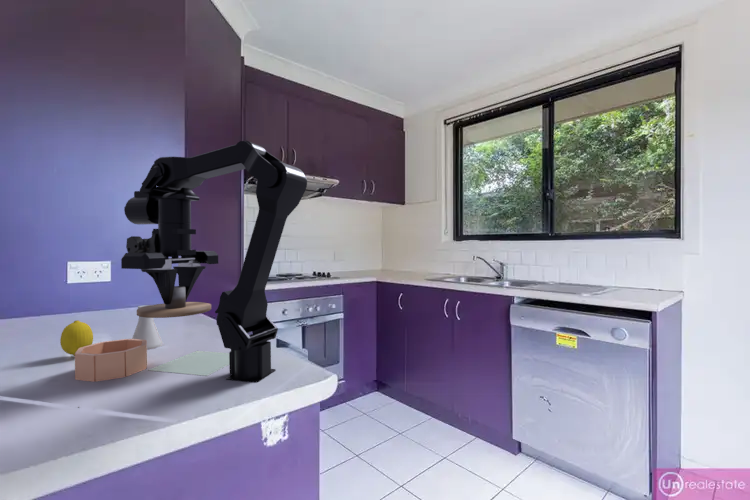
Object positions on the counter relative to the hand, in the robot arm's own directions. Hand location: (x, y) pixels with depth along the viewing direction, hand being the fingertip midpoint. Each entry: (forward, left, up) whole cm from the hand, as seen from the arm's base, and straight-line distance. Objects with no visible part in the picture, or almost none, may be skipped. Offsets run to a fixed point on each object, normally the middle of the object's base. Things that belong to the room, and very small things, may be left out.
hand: (175, 302), depth 73 cm
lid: (0, 0, -2) cm, 2 cm away
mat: (-4, -2, -13) cm, 14 cm away
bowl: (+9, +6, -13) cm, 17 cm away
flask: (+17, -9, -13) cm, 23 cm away
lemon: (+26, 0, -13) cm, 29 cm away
